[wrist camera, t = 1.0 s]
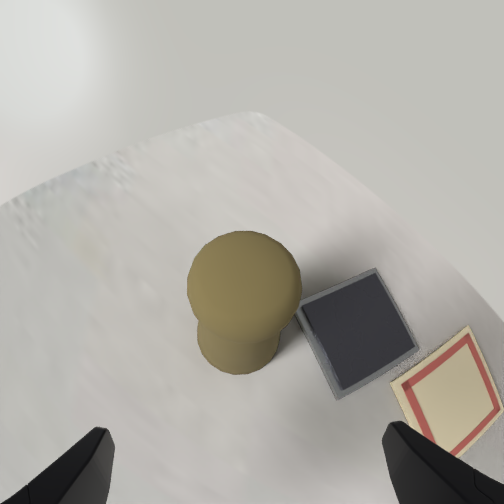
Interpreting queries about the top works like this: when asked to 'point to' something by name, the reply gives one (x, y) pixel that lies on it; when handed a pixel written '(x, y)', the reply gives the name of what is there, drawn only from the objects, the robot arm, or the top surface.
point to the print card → (450, 395)
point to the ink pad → (355, 332)
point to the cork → (242, 299)
